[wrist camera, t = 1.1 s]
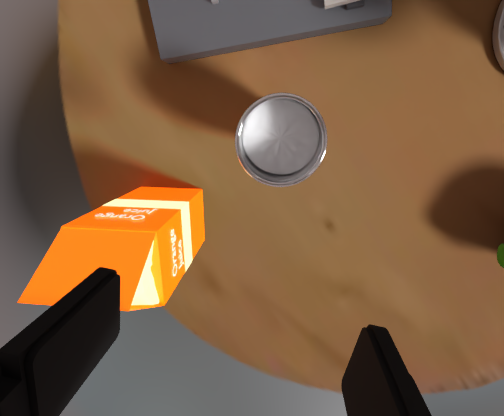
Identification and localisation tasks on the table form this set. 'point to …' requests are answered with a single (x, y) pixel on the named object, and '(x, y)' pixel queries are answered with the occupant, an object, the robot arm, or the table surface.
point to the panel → (251, 23)
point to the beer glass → (281, 139)
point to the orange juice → (126, 247)
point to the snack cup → (501, 255)
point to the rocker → (337, 3)
